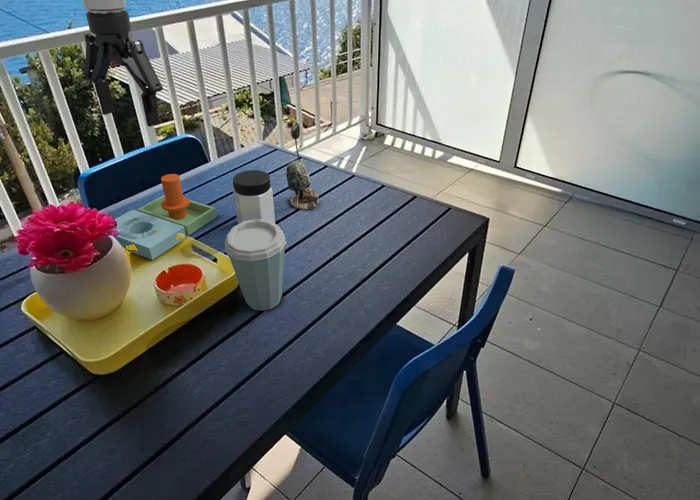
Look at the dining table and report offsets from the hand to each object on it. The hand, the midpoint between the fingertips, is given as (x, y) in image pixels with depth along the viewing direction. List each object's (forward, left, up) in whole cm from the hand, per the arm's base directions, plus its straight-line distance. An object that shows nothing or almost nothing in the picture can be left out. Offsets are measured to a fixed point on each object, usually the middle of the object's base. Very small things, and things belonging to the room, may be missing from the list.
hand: (130, 118), depth 107 cm
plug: (+6, +2, -23) cm, 24 cm away
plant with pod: (+28, +22, -24) cm, 43 cm away
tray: (+6, +2, -24) cm, 25 cm away
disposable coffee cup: (+42, -14, -24) cm, 50 cm away
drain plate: (+6, -9, -24) cm, 26 cm away
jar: (+24, +8, -24) cm, 35 cm away
